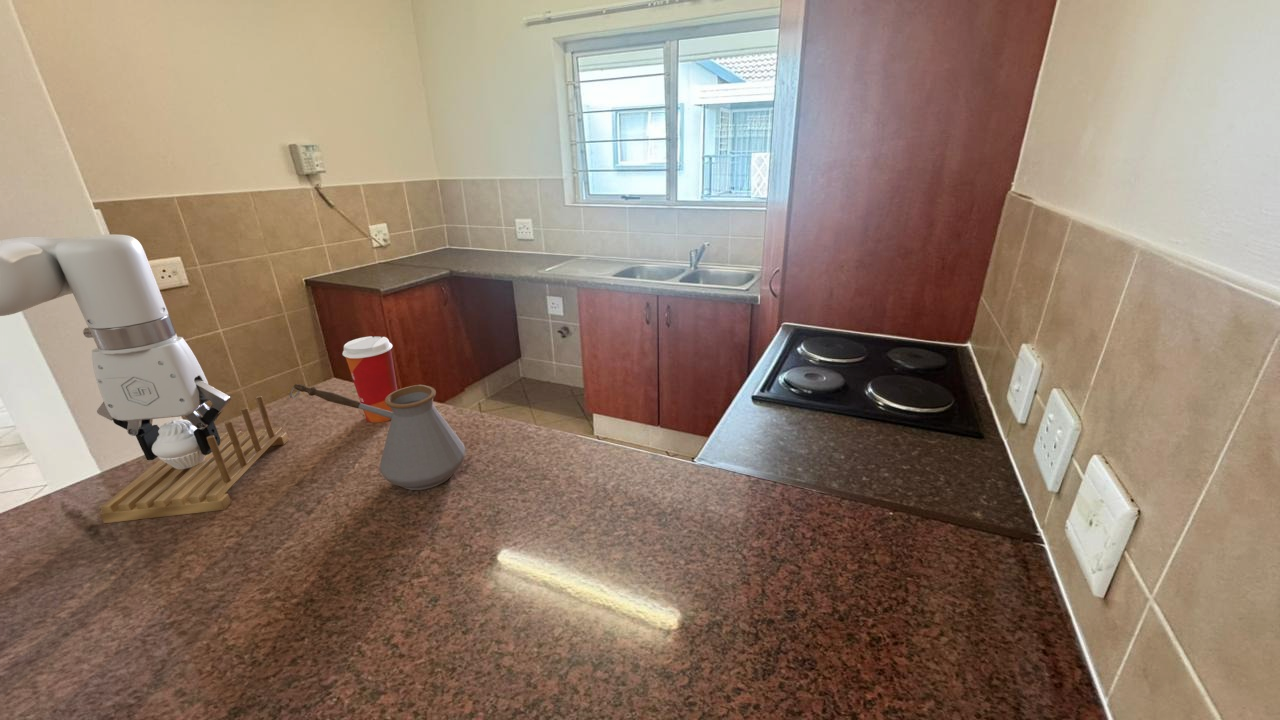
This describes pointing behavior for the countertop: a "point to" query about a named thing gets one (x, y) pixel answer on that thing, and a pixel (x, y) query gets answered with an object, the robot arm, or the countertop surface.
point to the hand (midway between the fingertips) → (185, 451)
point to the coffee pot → (410, 437)
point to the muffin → (178, 445)
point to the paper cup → (372, 372)
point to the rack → (195, 476)
